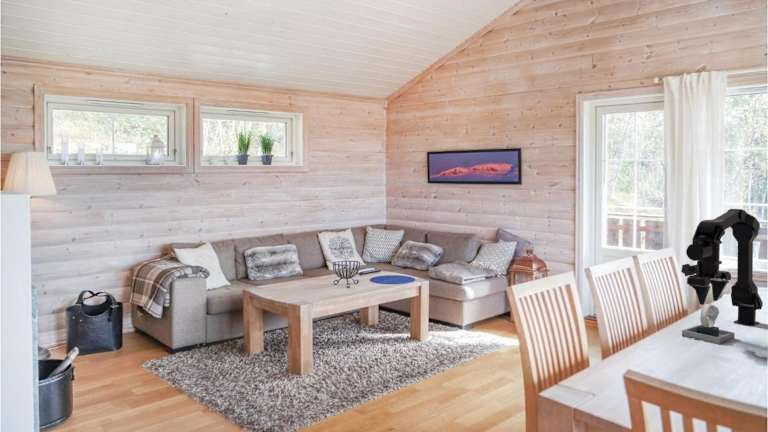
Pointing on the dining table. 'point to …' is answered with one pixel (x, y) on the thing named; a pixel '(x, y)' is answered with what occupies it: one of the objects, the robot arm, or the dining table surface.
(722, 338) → the tray
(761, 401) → the dining table surface
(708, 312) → the watch
